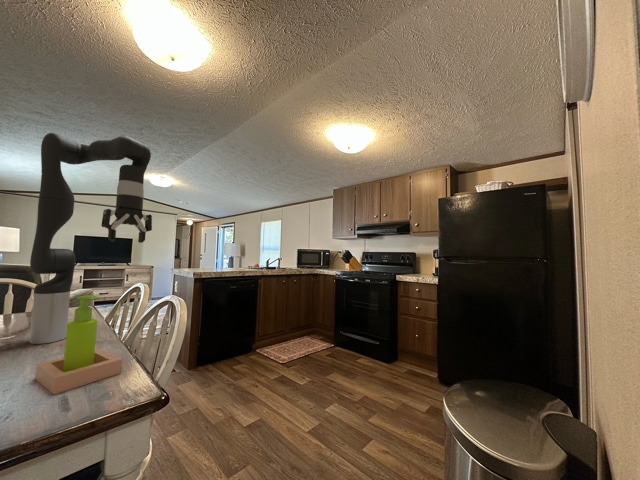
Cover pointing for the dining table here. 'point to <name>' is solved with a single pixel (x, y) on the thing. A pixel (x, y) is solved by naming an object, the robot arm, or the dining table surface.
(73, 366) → the green pump bottle
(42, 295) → the robot arm
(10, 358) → the dining table surface
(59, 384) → the tray
